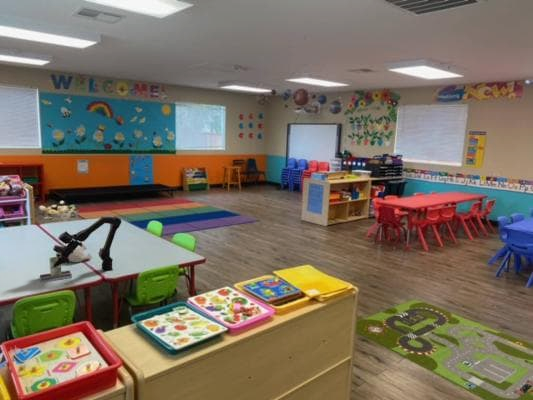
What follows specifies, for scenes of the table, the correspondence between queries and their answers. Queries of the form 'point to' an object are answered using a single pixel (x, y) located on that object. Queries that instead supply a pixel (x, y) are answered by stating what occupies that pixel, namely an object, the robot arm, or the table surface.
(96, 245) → the table surface
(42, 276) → the door track
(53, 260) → the grey green block
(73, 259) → the animal model
